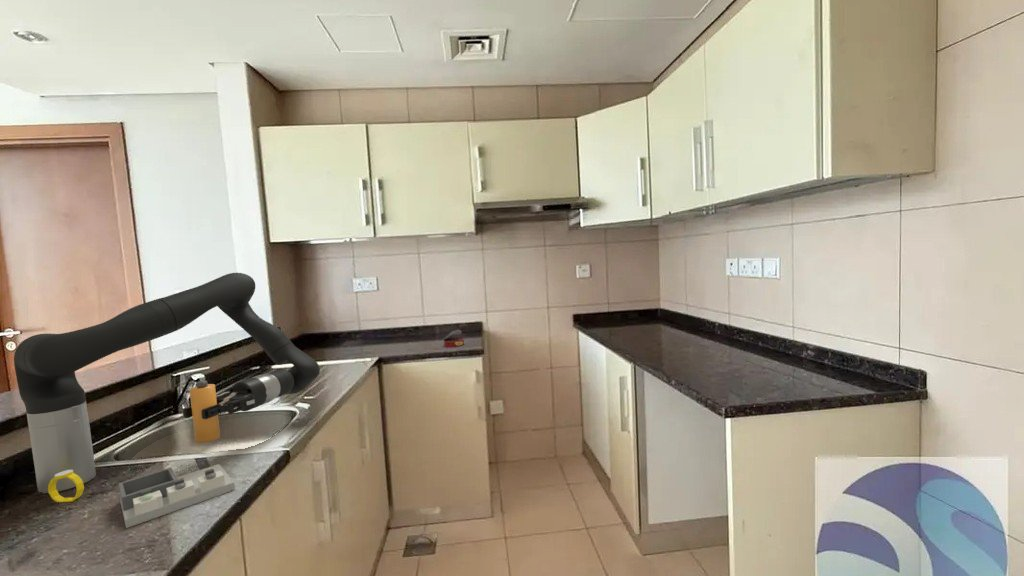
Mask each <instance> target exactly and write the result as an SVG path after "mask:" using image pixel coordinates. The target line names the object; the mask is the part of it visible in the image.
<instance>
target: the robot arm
mask: <svg viewBox="0 0 1024 576" xmlns="http://www.w3.org/2000/svg"><path fill="white" fill-rule="evenodd" d="M255 291H256V282H255V280H254V279H253V277H251V275H248V274H247V273H242V272H230V273H226V274H225V275H222V276H219V277H217V278H215V279H213V280H210V281H208V282H206V283H203V284H200V285H198V286H196V287H192V288H189V289H186V290H185V289H184V290H182V291H179V292H176V293H174V294H170V295H167V296H163V297H160V298H155V299H153V300H150V301H147V302H143V303H139V304H138V305H135V306H133V307H130V308H128V309H127V310H125V311H122V312H121V313H119V314H117V315H115V316H114V317H112V318H110V319H109V320H108V319H107V320H105V321H103V322H102V323H99V324H95V325H92V326H88V327H84V328H82V329H81V328H80V329H76V330H73V331H68V332H63V333H38V334H34V335H32V336H29V337H27V338H25V339H24V340H22V341H21V342H20V343H19V344H18V345H17V347H16V349H15V351H14V355H13V365H14V372H15V377H16V381H17V387H18V392H19V396H20V398H21V400H22V402H23V404H24V406H25V412H26V418H27V425H28V426H27V427H28V430H29V437H30V438H29V439H30V445H31V446H30V447H31V452H32V460H33V465H34V471H35V480H36V487H37V492H38V491H39V492H42V493H41V494H49V492H48V485H49V483H50V481H51V480H52V479H53V478H54V475H55V474H57V473H60V472H62V471H66V470H73V472H74V474H76V475H78V476H79V477H80V478H81V479H82V481H83V484H86V483H87V482H89V481H91V480H92V479H94V478H95V477H96V476H97V472H96V471H97V470H96V465H95V456H94V455H95V454H94V449H93V448H94V447H93V442H92V434H91V426H90V421H89V419H90V418H89V413H88V405H87V399H86V391H85V390H84V388H83V387H82V386H81V385H80V383H79V381H78V380H77V376H76V371H79V370H81V369H82V368H84V367H87V366H89V365H90V364H91V365H92V364H93V363H95V362H97V361H99V360H102V359H103V358H105V357H107V356H111V355H112V354H114V353H117V352H119V351H122V350H126V349H128V348H133V347H137V346H138V345H142V344H144V343H147V342H150V341H153V340H156V339H158V338H162V337H163V336H167V335H168V334H172V333H175V332H178V331H180V329H182V328H184V327H187V325H189V324H191V323H193V322H194V321H195V320H197V319H198V318H200V317H201V316H203V315H204V314H205V313H207V312H209V311H210V310H212V309H214V308H216V307H218V308H219V309H220V310H221V311H222V312H223V313H224V314H225V315H226V316H227V317H229V318H230V319H231V320H232V321H233V322H235V324H236V325H238V326H239V327H240V328H241V329H243V330H244V331H245V332H246V333H247V334H248V335H249V336H250V337H252V339H253V340H254V341H255V342H256V343H258V345H259V346H260V348H262V350H263V351H264V352H265V354H266V355H267V356H268V357H269V358H270V360H272V362H273V363H274V364H275V365H279V366H281V365H285V363H287V362H289V363H290V364H291V365H293V366H292V367H291V368H290V369H289V370H286V369H278V370H273V371H271V372H269V373H264V374H259V375H256V376H253V377H249V378H246V379H243V380H241V381H237V382H236V383H234V384H233V385H232V386H231V388H230V390H229V391H225V392H221V393H220V394H216V399H217V404H216V405H214V406H211V407H208V408H205V409H203V410H202V411H201V413H202V419H208V418H211V417H213V416H216V415H218V416H219V415H225V414H227V413H228V414H230V415H231V414H235V413H238V412H248V411H250V410H253V409H255V408H258V407H261V406H262V405H265V404H268V403H270V402H272V401H273V400H275V399H277V398H279V397H283V396H285V395H293V394H298V393H300V392H302V391H304V390H305V389H306V388H307V387H308V386H309V385H310V384H312V382H314V380H316V379H317V378H318V377H319V375H320V372H321V370H320V369H321V368H320V365H319V363H318V362H317V361H316V360H315V359H314V358H313V357H312V356H310V355H308V353H306V352H304V351H303V350H301V349H299V348H298V347H297V346H295V345H294V343H293V342H292V341H291V339H290V338H289V337H288V336H287V335H286V333H284V331H282V330H281V329H280V328H279V327H277V326H276V325H274V324H272V323H270V322H268V321H266V320H264V319H263V318H261V317H260V316H259V315H258V314H257V313H256V312H255V311H254V310H253V308H252V306H251V305H250V301H251V299H252V297H253V295H254V294H255ZM182 414H183V418H184V419H189V418H193V417H192V408H191V405H190V406H188V407H185V408H183V409H182ZM72 488H76V485H75V483H74V482H73V481H72V480H71V479H69V478H67V477H66V478H62V479H58V480H57V482H56V490H57V491H58V492H62V491H66V490H70V489H72ZM39 492H38V493H39Z"/></svg>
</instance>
